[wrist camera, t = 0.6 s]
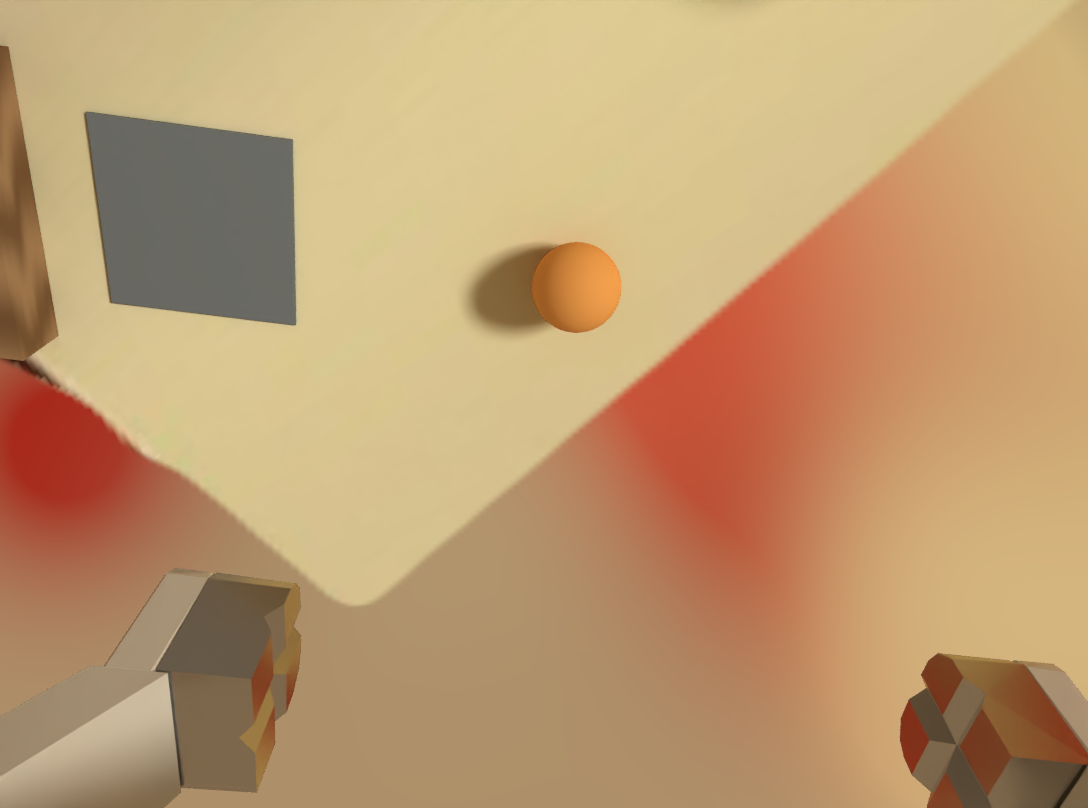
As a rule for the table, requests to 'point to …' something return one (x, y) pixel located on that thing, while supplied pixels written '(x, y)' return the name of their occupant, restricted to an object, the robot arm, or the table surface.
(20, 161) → the stopper wall
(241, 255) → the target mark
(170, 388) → the table surface
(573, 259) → the ball
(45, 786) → the robot arm
